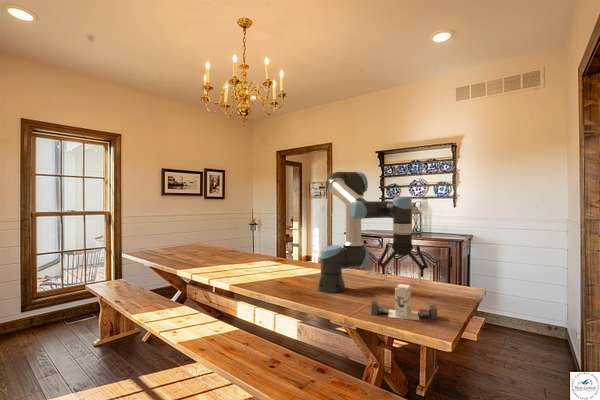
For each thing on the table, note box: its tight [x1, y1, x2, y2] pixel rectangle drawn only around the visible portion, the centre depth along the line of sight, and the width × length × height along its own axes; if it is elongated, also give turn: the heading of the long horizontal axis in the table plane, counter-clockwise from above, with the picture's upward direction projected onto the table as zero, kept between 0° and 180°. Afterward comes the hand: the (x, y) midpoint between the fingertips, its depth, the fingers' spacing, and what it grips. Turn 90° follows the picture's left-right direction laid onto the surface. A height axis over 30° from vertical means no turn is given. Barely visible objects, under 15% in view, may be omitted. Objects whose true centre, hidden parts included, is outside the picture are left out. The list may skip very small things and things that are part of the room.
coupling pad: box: [388, 309, 420, 321], centre depth 134 cm, size 12×9×1 cm
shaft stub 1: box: [370, 299, 388, 316], centre depth 136 cm, size 6×5×4 cm
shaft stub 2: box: [418, 304, 438, 321], centre depth 131 cm, size 6×5×4 cm
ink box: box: [394, 283, 412, 318], centre depth 134 cm, size 9×5×12 cm, turn 151°
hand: (402, 283), depth 134 cm, fingers open, 13 cm apart
